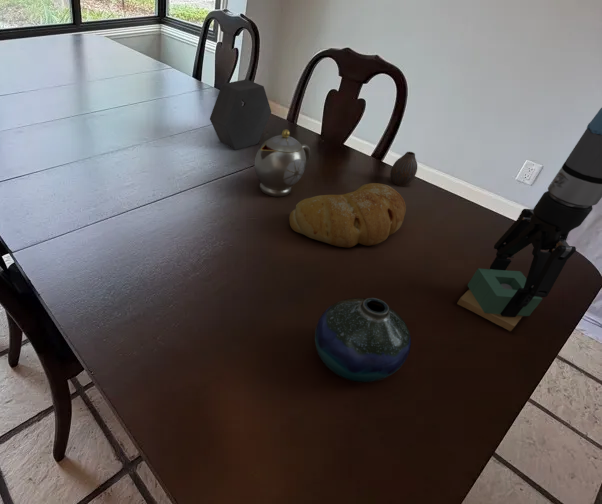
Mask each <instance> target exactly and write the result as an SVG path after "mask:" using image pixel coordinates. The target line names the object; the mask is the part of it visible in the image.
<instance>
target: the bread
mask: <svg viewBox="0 0 602 504" xmlns="http://www.w3.org/2000/svg"><path fill="white" fill-rule="evenodd" d="M406 211H407V206H406V202H405V200H404V198H403V196H402V195H401V194H400V193H399V192H398V191H397V190H396V189H394V188H393V187H392V186H390V185H388V184H384V183H379V182H378V183H376V182H371V183H364V184H363V185H361V186H359V188H357V189H355V191H354V190H353V191H351V192H347V193H342V194H319V195H316V196H312V197H306V198H304V199H301V200H300V201H299V202H297V203H296V205H295V208H294V209H293V210H292V211H290V214H289V218H288V219H289V221H288V222H289V226H290V228H291V229H292V230H293V231H294V232H296V233H298V234H301V235H304V236H305V237H307V238H309V239H312V240H315V241H319V242H322V243H325V244H328V245H330V246H334V247H340V248H352V247H355V246H356V245H358V244H360V245H362V246H370V247H371V246H376V245H379V244H381V243H383V242H385V241H386V240H387V239H388V237H389V236H391V235H393V234H395V233H396V232H397V231H398V230H399V229H400V228H401V227H402V225H403V222H404V220H405V215H406V213H407V212H406Z"/></svg>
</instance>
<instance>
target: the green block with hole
mask: <svg viewBox="0 0 602 504" xmlns="http://www.w3.org/2000/svg"><path fill="white" fill-rule="evenodd" d="M526 279H527V276H525V275H524V273H523V271H521V270H520V271H519V270H507V269H506V270H494V269H490V268H476V271H475V272H474V274H473V276H472V277H471V278H470V280H469V281H468V283H467V287H468V290H469V289H470V291H471V292H472V294H473V295H474V297H475V299H476V300H477V302H478V303H479V305H480V306H481V308H482V310H483V311H484V313H490V314H500V313H501V312H502V311H503V309H504V308H505V307H506V305H507V304H508V303H509V301H510V300H511V299H512V297H513V296H514V294H515V293H516V292H517V290H518V289H519V288H524V286H525V282H526ZM501 284H508V285H510V286H511V287H512V289H503V287H502V286H501ZM533 286H534V285H533ZM533 286H532V287H533ZM542 301H543V297H536V296H534V297H533V299H532V300H531V301H530V302H529V303H528V305H527V306H526V307H523V308H522V309H521V311H520V312H519V313H518V314H517V315H518V316H523V317H530V316H531V314H532V313H533V312H534V311H535V309H536V308H537V307H538V306H539V304H540V303H541V302H542Z"/></svg>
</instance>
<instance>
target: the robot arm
mask: <svg viewBox="0 0 602 504" xmlns="http://www.w3.org/2000/svg"><path fill="white" fill-rule="evenodd" d="M601 200H602V107H600V108H599V110H598V111H597V113H596V114H595V115H594V117H593V118H592V119H591V120H590V122H589V123H587V126H586V129H585V130H584V132H583V134H582V135H581V136H580V138H579V139H578V141H577V142H576V144H575V146H574V147H573V149H572V150H571V152H570V154H569V155H568V156H567V158H566V160H565V161H564V163H563V164H562V166H561V167H560V169H559V170H558V172H557V173H556V175H555V176H554V177H553V179H552V181H551V182H550V184H549V185H548V187H547V191H545V192H543V194H542V195H541V197H540V198H539V200H538V201H537V203H536V204H535V206H534V207H533V208H523V209H522V210H521V211H520V213H519V215H518V217H517V219H516V220H515V221H514V222H513V223H512V224H511V226H510V227H509V228H508V229H507V230H506V231H505V232H504V234H502V236H501V237H500V238H499V239H498V240H497V241H496V242H495V243H494V246H493V249H494V250H496V252H495V253H496V254H495V258H494V260H493V261H492V262H491V264H490V266H489V269H494V270H507V269H508V267H509V266H510V264H511V263H512V260H511V259H514V258H515V257H514V255H516V254H518V253H519V252H520V251H522V250H524V248H527V247H528V246H529V245H532V248H533V249H532V252H531V255H532V256H533V258H532V261H531V263H530V267H529V270H528V273H527V276H526V282H525V286H524V288H519V289H518V290H517V292H516V293H515V294H514V296H513V297H512V299H511V300H510V301H509V303H508V304H507V305H506V307H505V308H504V309H503V311H502V312H501V313H500V314H501V315H502V316H510V317H516V316H517V314H518V313H519V312H520V311H521V309H522V308H523V307H526V306H527V305H528V303H529V302H530V301H531V300H532V299H533V297H534V296H536V297H541V298H547V297H548V296H549V294H550V292H551V290H552V288H553V287H554V285H555V284H556V282H557V280H558V278H559V276H560V274H561V272H562V271H563V269H564V268H565V265H566V263H567V261H568V260H569V259H570V258H571V257H572V256H573V255H574V253H576V250H577V247H576V246H574V245H569V243H568V242H567V239H568V237H569V234H570V232H571V231H573V230H574V229H576V228H579V227H581V225H582V224H583V223H584V221H585V220H586V218H587V217H588V216H589V215H590V213H591V212H592V211H593V207H594V206H596V205H597V204H599V202H600V201H601ZM532 286H533V287H532Z"/></svg>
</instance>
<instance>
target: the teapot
mask: <svg viewBox="0 0 602 504" xmlns="http://www.w3.org/2000/svg"><path fill="white" fill-rule="evenodd" d="M290 135H291V132H290V130H289V129H285V128H284V129H283V130H282V132H281V134H279V135H275V136H272V137H270V138H268V139H266V140H265V141H264V142H263V143H262V144H261V145H260V147H259V148H258V150H257V152H256V154H255V158H254V172H255V175H256V177H257V179H258V181H259V190H260V191H261V192H262V193H263V194H265V195H266V196H270V197H275V198H282V197H286V196H287V195H289V194H290V193H291V191H292V187H293V186H295V184H297V183H298V182H299V181H300V180H301V178H302V177H303V175H304V173H305V170H306V169H307V167H308V165H309V163H310V159H311V154H312V153H311V148H310V146H309V145H307V144H303V143H302V144H301V142H300V141H298V140H297V139H296V138H294V137H292V136H290Z"/></svg>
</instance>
